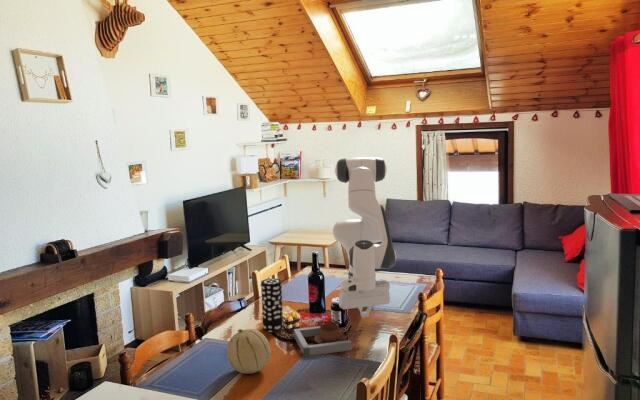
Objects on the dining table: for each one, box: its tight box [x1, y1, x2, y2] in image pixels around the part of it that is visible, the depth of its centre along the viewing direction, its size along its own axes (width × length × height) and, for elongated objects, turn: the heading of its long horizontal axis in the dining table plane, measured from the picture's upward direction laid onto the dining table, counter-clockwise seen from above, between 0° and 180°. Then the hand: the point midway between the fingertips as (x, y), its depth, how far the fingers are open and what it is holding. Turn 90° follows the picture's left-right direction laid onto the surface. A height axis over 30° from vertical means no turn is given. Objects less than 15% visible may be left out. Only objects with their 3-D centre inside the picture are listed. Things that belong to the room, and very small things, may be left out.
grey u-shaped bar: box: [293, 323, 353, 357], centre depth 201 cm, size 19×18×3 cm
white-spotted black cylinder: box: [260, 278, 284, 333], centre depth 216 cm, size 8×8×20 cm
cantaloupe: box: [226, 328, 272, 375], centre depth 179 cm, size 15×15×15 cm
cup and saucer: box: [313, 323, 346, 344], centre depth 202 cm, size 12×12×6 cm
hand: (364, 316), depth 206 cm, fingers closed
